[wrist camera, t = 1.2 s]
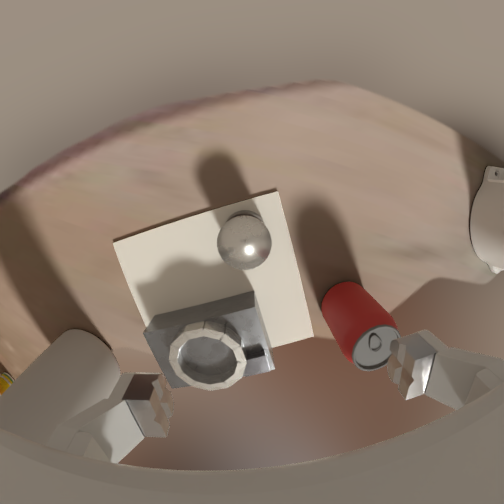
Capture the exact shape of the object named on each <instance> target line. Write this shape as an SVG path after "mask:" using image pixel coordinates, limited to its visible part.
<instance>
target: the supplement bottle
mask: <svg viewBox="0 0 504 504" xmlns="http://www.w3.org/2000/svg"><path fill="white" fill-rule="evenodd" d="M14 381H15V380H14V379H13V378H12V377H11V376H10V375H9V374H8V373H5V372H4V373H2V374H1V375H0V396H1V395H2V394H3V393H4V392H5V391H6V390H7V389H8V388H9V386H10V385H11V384H12V383H13V382H14Z"/></svg>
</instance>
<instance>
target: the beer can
mask: <svg viewBox="0 0 504 504" xmlns="http://www.w3.org/2000/svg"><path fill="white" fill-rule="evenodd" d="M321 310H322V314H323V317H324V319H325V321H326V322H327V324H328V326H329V328H330V330H331V332H332V334H333V336H334V338H335V339H336V341H337V343H338V345H339V347H340V349H341V351H342V353H343V354H344V356H345V357H346V358H347V359H348V360H349V361H350V362H351V363H353V364H355V366H356V367H357V368H359V369H361V370H364V371H372V370H377V369H379V368H382V367H384V366H385V365H386V364H388V359H389V358H390V356H391V355H392V353H391V351H390V350H389V349H390V343H391V341H392V340H394V339H397V338H401V336H400V334H399V332H398V328H397V326H396V323H395V321H394V320H393V318H392V316H390V314H389V313H388V312H387V311H386V310H385V309H384V308H383V307H382V306H381V305H380V304H379V303H378V302H377V301H376V300H375V299H374V298H373V297H372V296H371V295H370V294H369V293H368V292H367V291H366V290H365V289H364V288H362V287H361V286H360V285H359V284H357V283H354V282H342V283H339V284H336V285H335V286H333V287H332V288H331V289H330V290H329V291H328V292H327V293H326V295H325V296H324V299H323V301H322V308H321Z"/></svg>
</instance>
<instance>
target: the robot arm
mask: <svg viewBox="0 0 504 504" xmlns="http://www.w3.org/2000/svg"><path fill="white" fill-rule="evenodd" d="M470 232H471V240H472V244H473V248H474V250H475V252H476V254H477V256H478V257H479V258H480V259H481V260H482V261H484V262H486V263H487V264H488V265H489V267H490V269H491V271H492V272H493V273H499V272H500V271H501V270H504V168H500V167H494V166H487V167H486V170H485V174H484V179H483V183H482V185H481V187H480V189H479V190H478V192H477V194H476V197H475V200H474V203H473V207H472V212H471V220H470ZM389 350H390V351H391V353H392V355H391V356H390V358H389V359H388V364H387V369H388V374H389V377H390V379H391V380H392V382H393V383H396V384H398V385H399V387H398V390H399V392H400V393H401V394H402V396H403V397H404V398H405V400H408V399H411V398H413V397H416V396H419V395H422V394H424V393H425V395H427V396H429V397H431V398H433V399H435V400H437V401H439V402H441V403H444V404H445V405H448V406H450V407H452V408H454V409H456V411H454V412H452V413H450V414H448V415H446V416H444V417H442V418H440V419H438V420H436V421H433V422H431V423H429V424H427V425H424V426H422V427H420V428H418V429H415V430H413V431H410V432H408V433H405V434H403V435H400V436H397V437H395V438H392V439H389V440H386V441H383V442H380V443H377V444H374V445H371V446H368V447H364V448H361V449H358V450H354V451H350V452H347V453H343V454H339V455H335V456H330V457H326V458H322V459H317V460H312V461H307V462H301V463H295V464H289V465H282V466H275V467H266V468H257V469H246V470H245V469H244V470H225V471H186V470H184V471H183V470H167V469H155V468H145V467H137V466H129V465H123V464H117V463H118V462H119V461H120V460H121V459H122V458H124V457H125V455H127V454H128V453H129V452H130V451H131V450H132V449H133V448H134V447H135V446H136V445H137V444H138V443H139V442H140V441H141V440H143V439H144V437H167V433H168V430H169V426H170V423H169V421H168V419H169V418H170V417H171V416H172V414H173V410H174V409H173V407H174V402H173V398H172V394H171V392H170V391H169V390H168V389H167V388H166V384H167V381H166V378H165V375H164V374H162V373H135V372H125V373H123V374H122V375H121V377H120V378H119V380H118V382H117V384H116V385H115V387H114V389H113V391H112V393H111V394H110V396H109V398H108V399H103V400H101V401H100V402H98V403H96V404H94V405H93V406H91V407H89V408H88V409H86V410H84V411H82V412H81V413H79V414H77V415H75V416H74V417H72V418H70V419H68V420H67V421H65V422H63V423H61V424H59V425H58V426H57V427H56V429H55V431H54V432H53V434H52V435H51V437H50V439H49V440H48V442H47V443H46V445H42V444H39V443H36V442H33V441H30V440H28V439H25V438H23V437H20V436H17V435H15V434H13V433H10V432H8V431H6V430H3V429H1V428H0V504H504V360H503V359H501V358H498V357H493V356H489V355H484V354H480V353H475V352H471V351H467V350H462V349H458V348H454V347H451V348H448V347H447V346H446V345H445V344H444V343H443V342H441V341H440V340H439V339H438V338H437V337H436V336H434V335H433V334H432V333H431V332H430V331H428V330H422V331H419V332H416V333H414V334H411V335H408V336H404V337H401V338H397V339H394V340H392V341H391V343H390V349H389Z"/></svg>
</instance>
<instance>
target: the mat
mask: <svg viewBox="0 0 504 504" xmlns="http://www.w3.org/2000/svg"><path fill="white" fill-rule="evenodd" d="M241 210H249V211H252V212H255V213H256V214H258V215H259V216H260V217H261V218H262V219H263V221H264V223H265V225H266V227H267V228H268V230H269V232H270V235H271V239H272V247H271V251H270V254H269V256H268V257H267V259H266V260H265V261H264V262H263V263H262V264H261V265H259V266H258V267H256V268H253V269H249V270H240V269H236V268H233V267H231V266H229V265H228V264H227V263H225V262H224V261H223V259H222V258H221V256H220V255H219V252H218V249H217V237H218V234H219V232H220V230H221V228H222V226H223V225H224V224H225V223H226V221H227V219H228V218H229V217H230V216H231V215H232V214H234V213H235V212H238V211H241ZM113 245H114V248H115V251H116V254H117V257H118V259H119V262H120V265H121V268H122V270H123V273H124V275H125V278H126V280H127V283H128V285H129V288H130V290H131V293H132V295H133V298H134V300H135V302H136V305H137V307H138V309H139V312H140V314H141V316H142V318H143V321H144V323H145V325H146V327H147V326H148V325H149V323H150V322H151V320H152V319H153V317H154V316H155V315H158V314H162V313H167V312H171V311H175V310H179V309H183V308H187V307H192V306H196V305H200V304H204V303H208V302H212V301H215V300H219V299H223V298H227V297H231V296H235V295H239V294H242V293H246V292H250V291H255V295H256V298H257V301H258V305H259V308H260V311H261V314H262V317H263V321H264V324H265V327H266V330H267V334H268V337H269V340H270V343H271V346H272V348H273V347H277V346H280V345H284V344H288V343H291V342H295V341H299V340H302V339H306V338H309V337H313V336H314V335H313V330H312V325H311V321H310V317H309V312H308V308H307V303H306V299H305V295H304V291H303V287H302V282H301V278H300V274H299V270H298V266H297V262H296V258H295V254H294V250H293V246H292V242H291V238H290V234H289V231H288V227H287V223H286V219H285V215H284V212H283V208H282V204H281V201H280V197H279V193H278V191H276V192H273V193H269V194H265V195H262V196H258V197H255V198H251V199H248V200H244V201H241V202H237V203H234V204H230V205H227V206H224V207H220V208H217V209H214V210H210V211H207V212H204V213H201V214H197V215H194V216H191V217H188V218H185V219H182V220H179V221H175V222H172V223H169V224H166V225H163V226H160V227H157V228H154V229H151V230H148V231H146V232H143V233H140V234H137V235H134V236H131V237H128V238H125V239H123V240H120V241H117V242H114V243H113Z"/></svg>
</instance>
